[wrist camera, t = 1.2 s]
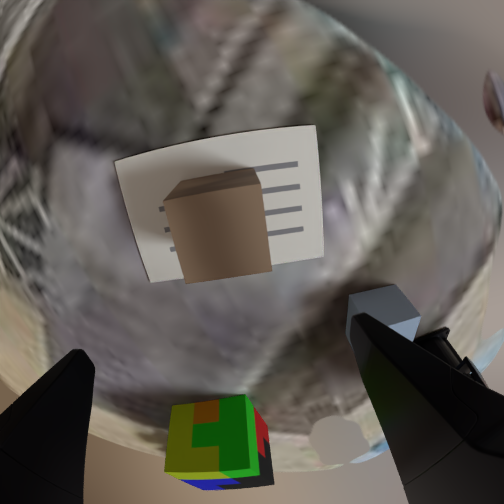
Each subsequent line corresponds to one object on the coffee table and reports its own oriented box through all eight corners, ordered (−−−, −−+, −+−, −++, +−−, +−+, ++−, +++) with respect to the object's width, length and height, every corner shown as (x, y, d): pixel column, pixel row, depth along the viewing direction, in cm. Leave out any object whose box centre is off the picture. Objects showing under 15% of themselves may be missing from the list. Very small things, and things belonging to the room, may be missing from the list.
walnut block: (253, 168, 17) (260, 183, 13) (263, 235, 20) (272, 271, 15) (180, 180, 18) (162, 201, 13) (195, 246, 20) (185, 283, 15)
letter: (314, 125, 16) (315, 125, 16) (322, 255, 21) (323, 256, 21) (115, 161, 17) (114, 161, 16) (151, 281, 21) (150, 282, 21)
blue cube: (395, 283, 23) (421, 315, 19) (387, 322, 25) (408, 354, 21) (348, 294, 23) (370, 330, 19) (345, 333, 25) (361, 369, 21)
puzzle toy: (204, 434, 34) (203, 490, 25) (172, 405, 30) (164, 471, 21) (267, 425, 33) (274, 484, 24) (245, 393, 29) (250, 468, 20)
